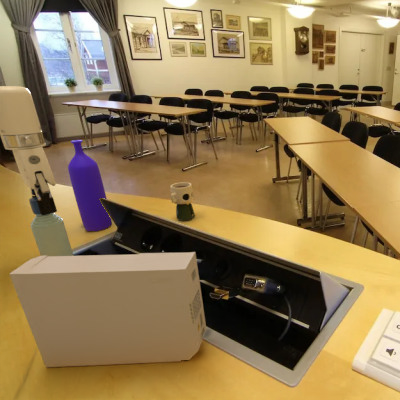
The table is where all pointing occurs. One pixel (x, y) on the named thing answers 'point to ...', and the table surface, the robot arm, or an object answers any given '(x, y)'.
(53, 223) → the water bottle
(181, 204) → the character mug
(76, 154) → the bottle
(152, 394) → the table surface
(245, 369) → the table surface
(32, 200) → the cap
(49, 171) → the robot arm
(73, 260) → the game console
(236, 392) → the table surface
